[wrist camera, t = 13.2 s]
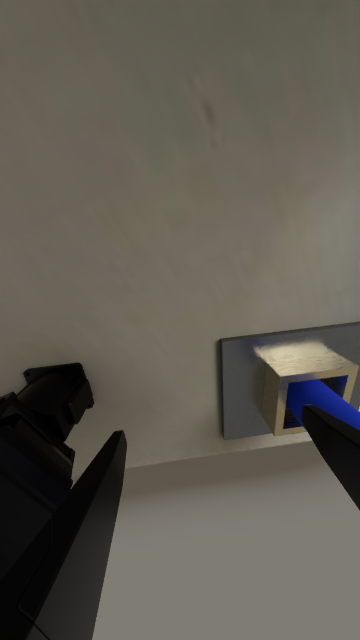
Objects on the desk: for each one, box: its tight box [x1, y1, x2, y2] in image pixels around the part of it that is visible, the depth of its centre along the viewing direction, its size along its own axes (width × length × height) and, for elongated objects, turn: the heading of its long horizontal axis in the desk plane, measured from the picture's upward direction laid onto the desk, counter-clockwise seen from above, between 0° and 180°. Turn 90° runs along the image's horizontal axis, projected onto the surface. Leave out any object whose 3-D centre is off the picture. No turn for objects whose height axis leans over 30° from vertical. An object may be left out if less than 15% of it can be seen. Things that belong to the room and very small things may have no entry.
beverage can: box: [286, 379, 360, 431], centre depth 17 cm, size 5×5×15 cm
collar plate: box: [220, 322, 360, 440], centre depth 23 cm, size 20×16×4 cm
